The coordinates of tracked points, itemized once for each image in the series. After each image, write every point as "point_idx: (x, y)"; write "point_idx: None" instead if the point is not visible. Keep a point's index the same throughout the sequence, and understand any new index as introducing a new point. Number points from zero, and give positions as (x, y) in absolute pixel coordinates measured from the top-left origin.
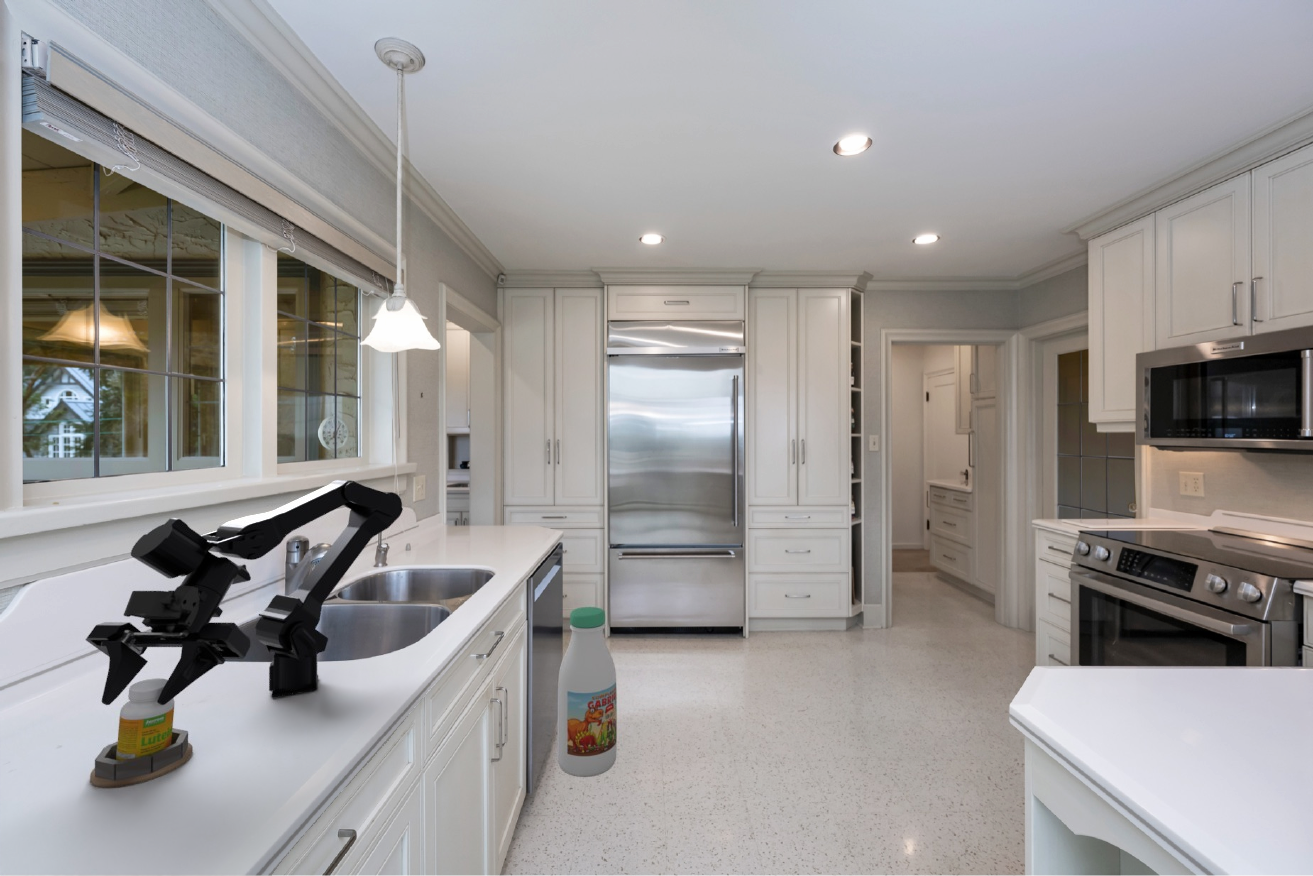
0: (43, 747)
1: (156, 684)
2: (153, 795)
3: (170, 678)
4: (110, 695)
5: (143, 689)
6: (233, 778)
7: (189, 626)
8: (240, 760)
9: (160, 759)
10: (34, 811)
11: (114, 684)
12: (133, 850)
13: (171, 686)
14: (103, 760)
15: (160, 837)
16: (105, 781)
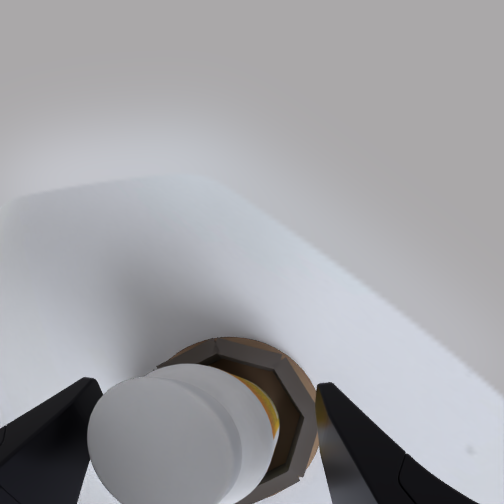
0: (490, 438)
1: (125, 455)
2: (126, 314)
3: (36, 423)
4: (322, 414)
5: (135, 397)
6: (41, 355)
7: None
8: None
9: None
10: (297, 268)
11: (335, 441)
12: (84, 203)
13: (41, 403)
14: (261, 355)
15: (67, 224)
16: (240, 343)
